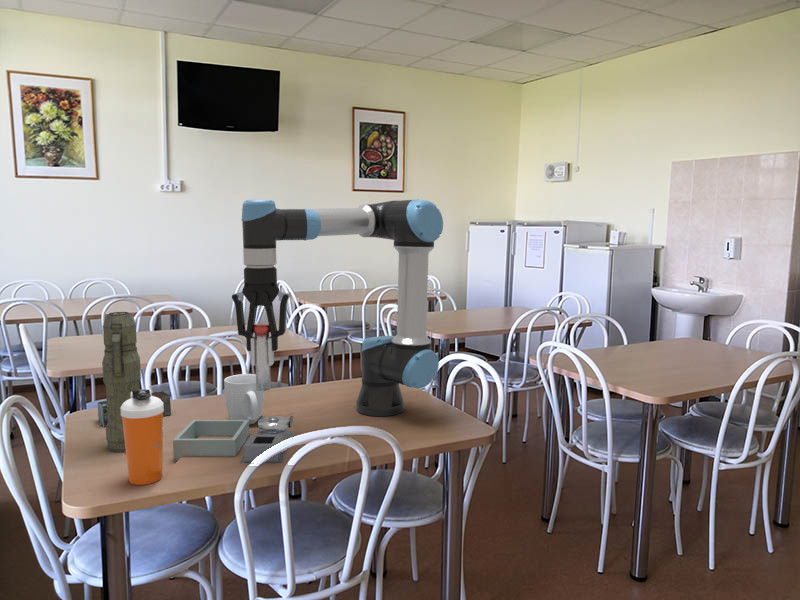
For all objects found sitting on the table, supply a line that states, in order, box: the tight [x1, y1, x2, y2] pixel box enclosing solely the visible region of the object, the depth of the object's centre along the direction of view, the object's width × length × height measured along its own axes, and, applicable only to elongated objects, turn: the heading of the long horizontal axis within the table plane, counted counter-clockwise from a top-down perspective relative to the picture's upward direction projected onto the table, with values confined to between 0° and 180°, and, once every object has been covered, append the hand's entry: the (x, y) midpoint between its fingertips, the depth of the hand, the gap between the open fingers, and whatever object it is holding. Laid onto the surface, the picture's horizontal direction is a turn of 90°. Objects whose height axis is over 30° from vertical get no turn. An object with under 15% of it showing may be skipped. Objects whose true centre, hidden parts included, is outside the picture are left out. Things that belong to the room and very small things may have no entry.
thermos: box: [101, 311, 142, 453], centre depth 153 cm, size 9×12×35 cm
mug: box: [223, 373, 265, 426], centre depth 172 cm, size 15×11×13 cm
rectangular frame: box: [172, 419, 250, 463], centre depth 153 cm, size 15×15×6 cm
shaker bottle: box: [121, 389, 164, 486], centre depth 135 cm, size 9×9×20 cm
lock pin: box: [253, 323, 272, 392], centre depth 143 cm, size 4×4×16 cm
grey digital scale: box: [239, 415, 296, 464], centre depth 152 cm, size 22×10×7 cm, turn 1°
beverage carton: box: [97, 390, 172, 428], centre depth 177 cm, size 8×19×7 cm, turn 127°
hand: (262, 363), depth 143 cm, fingers closed on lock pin, 3 cm apart
